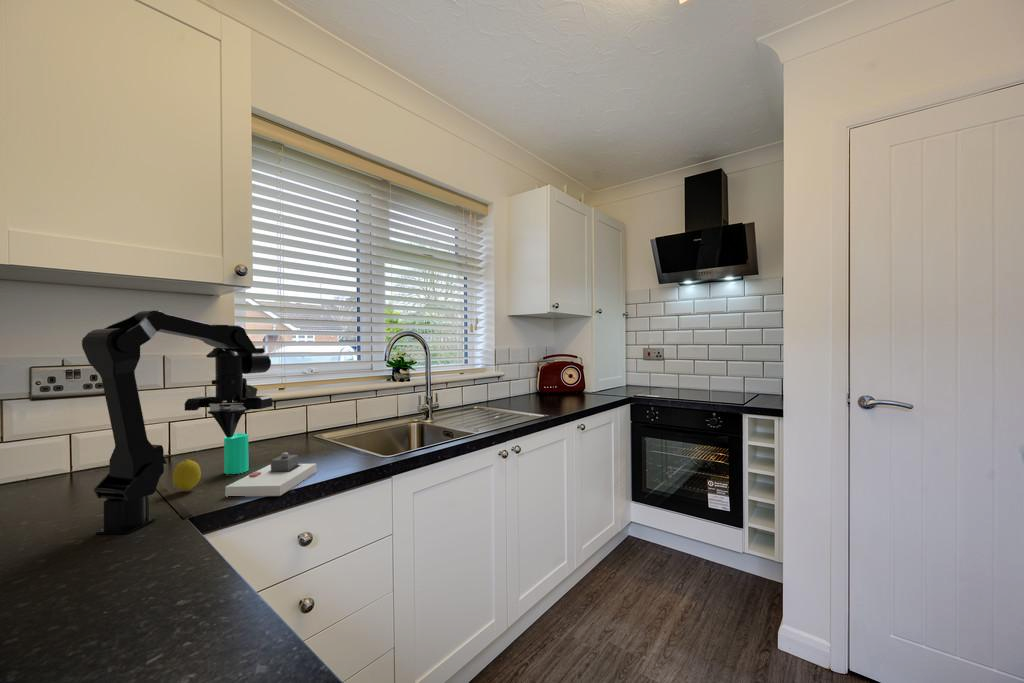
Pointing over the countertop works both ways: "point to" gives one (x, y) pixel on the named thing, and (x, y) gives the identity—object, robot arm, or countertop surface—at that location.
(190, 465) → the lemon
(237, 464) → the candle
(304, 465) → the socket plate
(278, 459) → the plug
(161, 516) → the countertop surface
